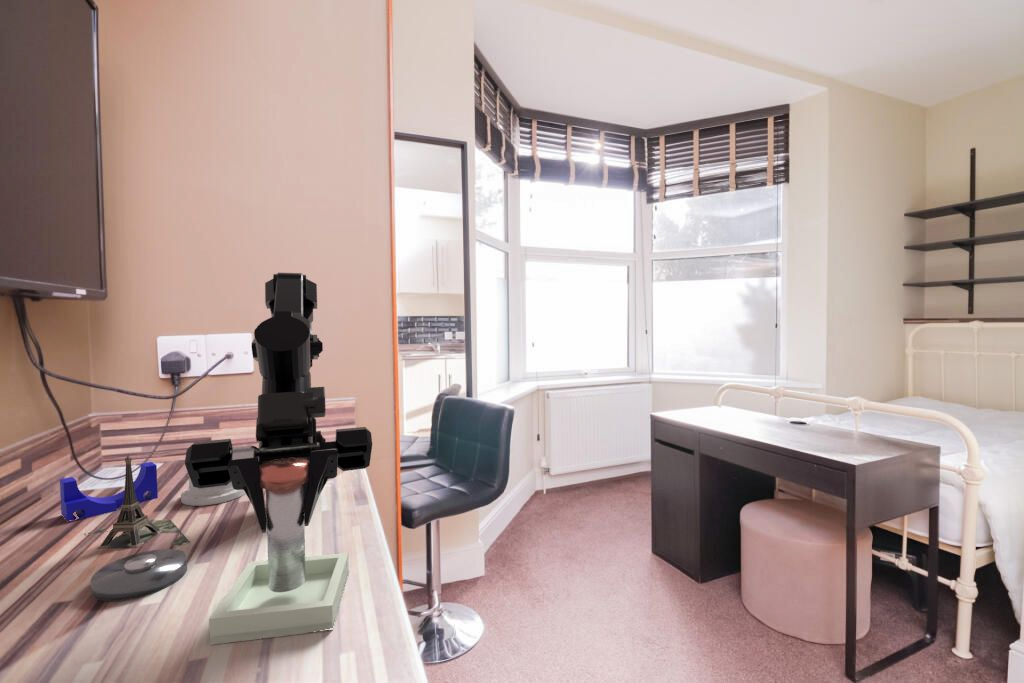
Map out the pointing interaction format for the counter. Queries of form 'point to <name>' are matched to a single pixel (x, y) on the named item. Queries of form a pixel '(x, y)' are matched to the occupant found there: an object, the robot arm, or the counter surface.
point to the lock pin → (285, 521)
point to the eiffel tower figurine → (136, 522)
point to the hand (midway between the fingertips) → (285, 527)
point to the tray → (280, 602)
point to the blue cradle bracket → (95, 506)
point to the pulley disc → (138, 575)
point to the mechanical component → (209, 494)
